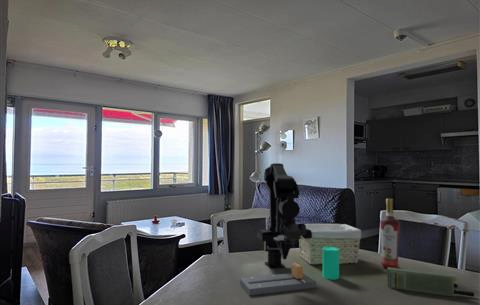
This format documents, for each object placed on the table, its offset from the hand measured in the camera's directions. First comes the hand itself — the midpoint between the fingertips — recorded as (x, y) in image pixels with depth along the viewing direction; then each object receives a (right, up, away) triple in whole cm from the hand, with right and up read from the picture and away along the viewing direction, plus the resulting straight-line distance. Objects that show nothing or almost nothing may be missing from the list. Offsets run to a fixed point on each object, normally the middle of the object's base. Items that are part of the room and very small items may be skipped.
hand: (284, 259), depth 110 cm
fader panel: (-2, -9, -1) cm, 9 cm away
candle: (+19, -10, +9) cm, 23 cm away
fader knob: (+5, -7, +1) cm, 8 cm away
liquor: (+46, -11, +21) cm, 52 cm away
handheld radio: (+47, -10, -4) cm, 49 cm away
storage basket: (+24, -11, +30) cm, 40 cm away
